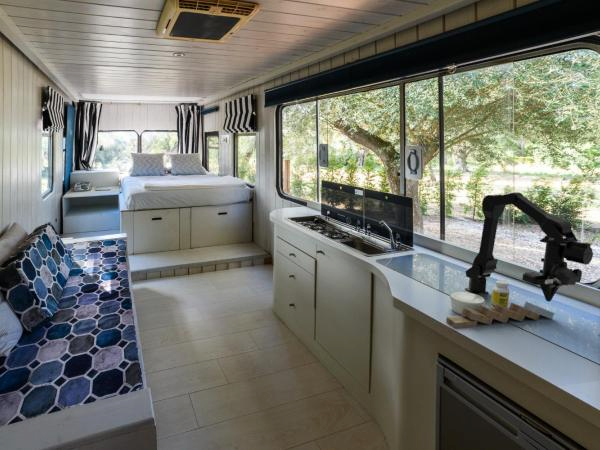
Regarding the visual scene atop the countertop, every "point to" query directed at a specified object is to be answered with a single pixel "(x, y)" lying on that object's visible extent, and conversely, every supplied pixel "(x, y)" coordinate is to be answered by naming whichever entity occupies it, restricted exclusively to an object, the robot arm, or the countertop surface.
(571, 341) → the countertop surface
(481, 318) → the tile
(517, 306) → the brown rectangular block
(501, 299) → the supplement bottle
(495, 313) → the brown wooden block
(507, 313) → the brown rectangular block
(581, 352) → the countertop surface
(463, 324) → the tile
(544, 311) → the block
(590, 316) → the countertop surface
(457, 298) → the ramekin
